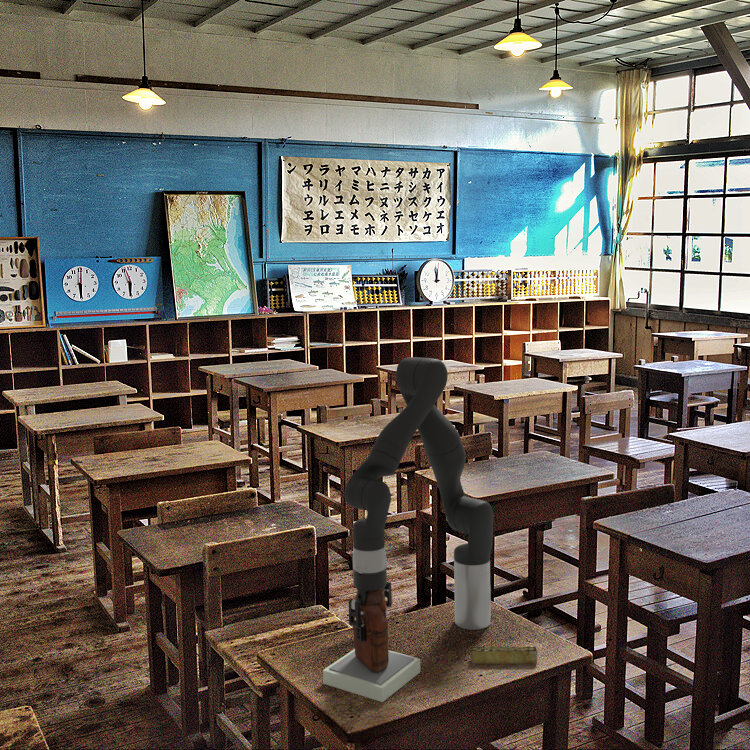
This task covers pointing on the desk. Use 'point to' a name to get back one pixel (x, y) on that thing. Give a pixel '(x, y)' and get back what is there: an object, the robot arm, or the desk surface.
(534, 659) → the decorative block
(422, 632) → the desk surface
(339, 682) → the plinth
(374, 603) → the wooden figurine
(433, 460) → the robot arm
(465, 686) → the desk surface
